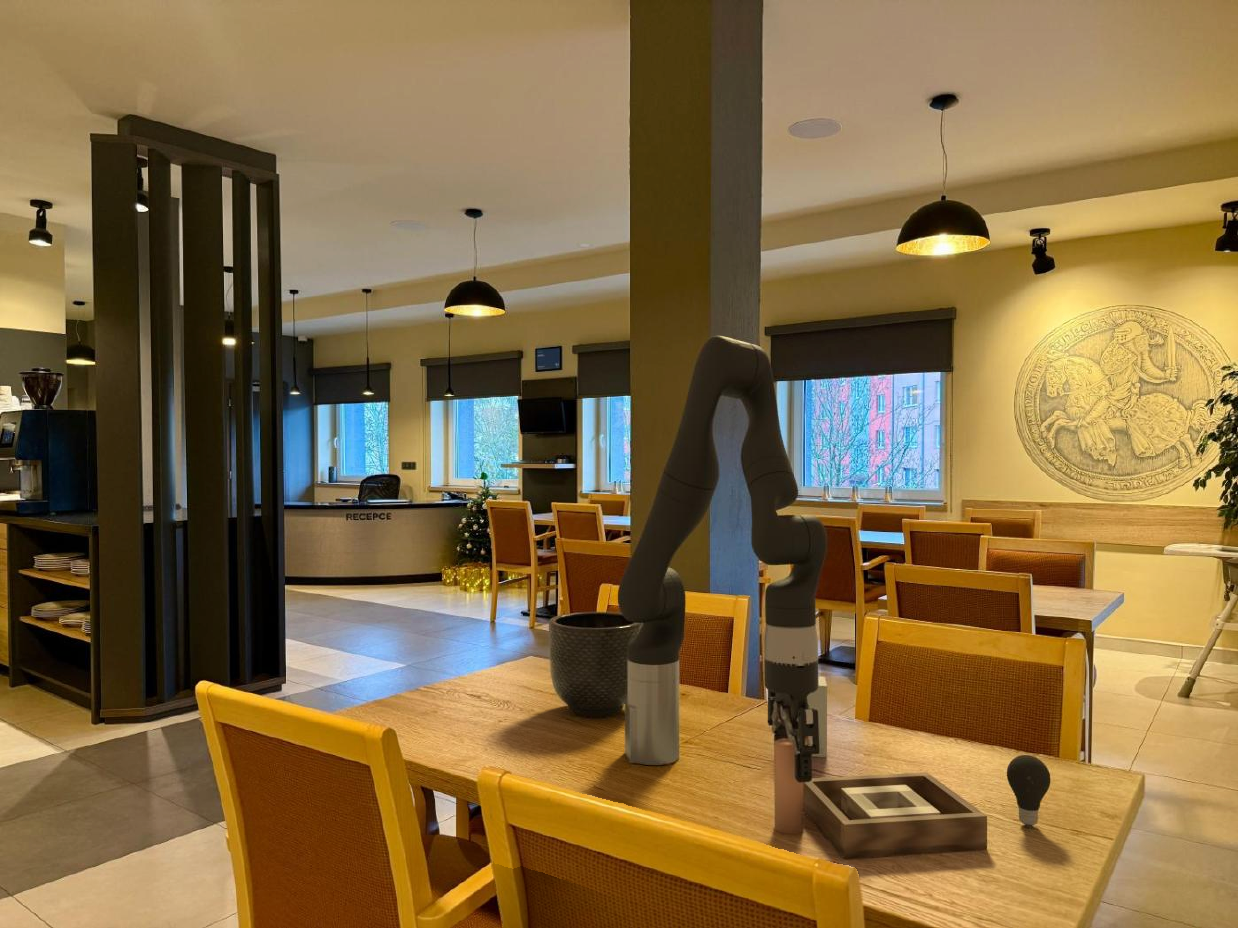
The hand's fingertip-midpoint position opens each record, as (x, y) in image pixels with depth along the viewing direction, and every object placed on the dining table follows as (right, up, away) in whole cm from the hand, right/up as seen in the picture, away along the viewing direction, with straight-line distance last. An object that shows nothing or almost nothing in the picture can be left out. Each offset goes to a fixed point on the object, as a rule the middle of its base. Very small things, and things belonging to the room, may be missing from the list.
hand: (792, 770), depth 118 cm
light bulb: (+34, -8, +1) cm, 35 cm away
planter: (-29, -9, +57) cm, 64 cm away
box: (+14, -8, 0) cm, 16 cm away
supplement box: (+9, -9, +33) cm, 35 cm away
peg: (-1, -8, 0) cm, 8 cm away
